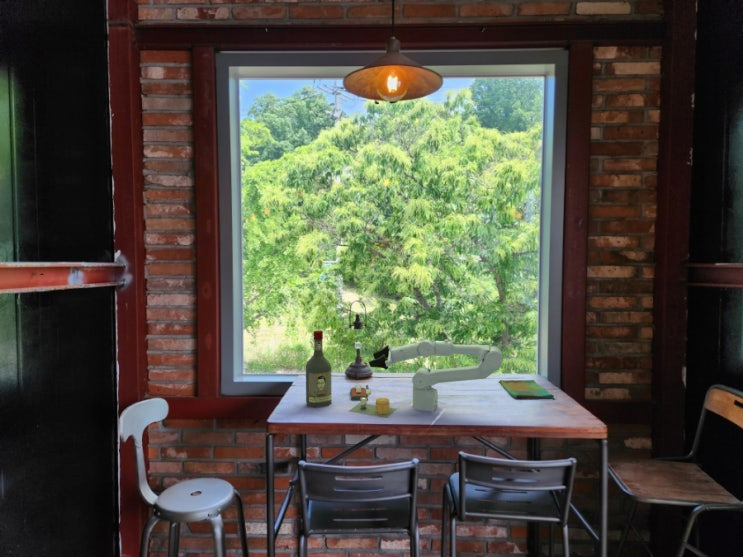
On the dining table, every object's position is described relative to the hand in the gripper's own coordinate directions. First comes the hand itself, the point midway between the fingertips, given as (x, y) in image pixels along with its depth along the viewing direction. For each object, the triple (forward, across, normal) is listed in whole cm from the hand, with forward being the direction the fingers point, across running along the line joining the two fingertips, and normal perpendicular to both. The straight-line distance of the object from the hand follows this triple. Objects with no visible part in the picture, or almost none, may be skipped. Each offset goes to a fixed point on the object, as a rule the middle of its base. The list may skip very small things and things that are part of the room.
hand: (371, 360), depth 173 cm
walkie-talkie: (+13, -6, +17) cm, 22 cm away
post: (+6, +10, +14) cm, 19 cm away
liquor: (+25, +9, +10) cm, 28 cm away
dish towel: (-53, -28, +41) cm, 73 cm away
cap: (-2, +12, +16) cm, 20 cm away
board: (+2, +12, +16) cm, 20 cm away
